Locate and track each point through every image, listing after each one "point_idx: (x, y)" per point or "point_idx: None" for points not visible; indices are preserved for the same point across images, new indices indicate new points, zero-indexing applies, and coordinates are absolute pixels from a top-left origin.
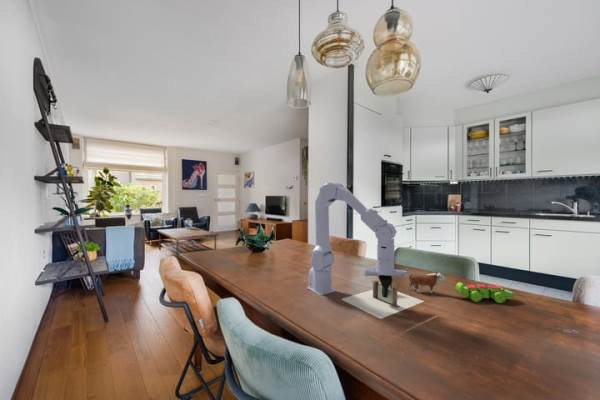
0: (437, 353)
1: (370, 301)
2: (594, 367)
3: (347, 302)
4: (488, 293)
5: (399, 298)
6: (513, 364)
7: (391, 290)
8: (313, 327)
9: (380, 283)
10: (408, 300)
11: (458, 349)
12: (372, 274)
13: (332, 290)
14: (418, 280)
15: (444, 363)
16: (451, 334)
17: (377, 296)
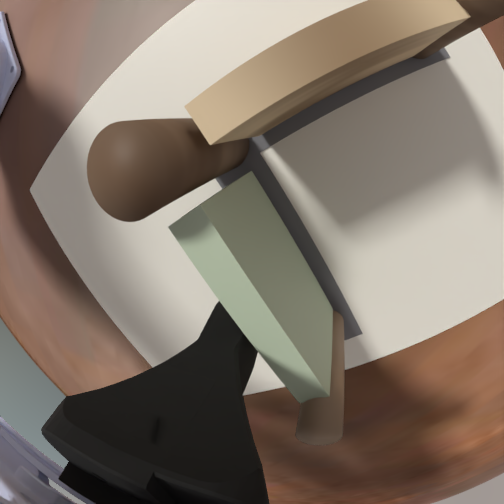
0: (288, 487)
1: (162, 230)
2: (490, 479)
3: (53, 232)
4: None
5: (445, 192)
6: (398, 497)
7: (295, 393)
8: (38, 357)
9: (238, 121)
10: (485, 243)
11: (344, 487)
12: (15, 449)
13: (7, 80)
14: None
15: (281, 494)
16: (387, 466)
17: (226, 172)
